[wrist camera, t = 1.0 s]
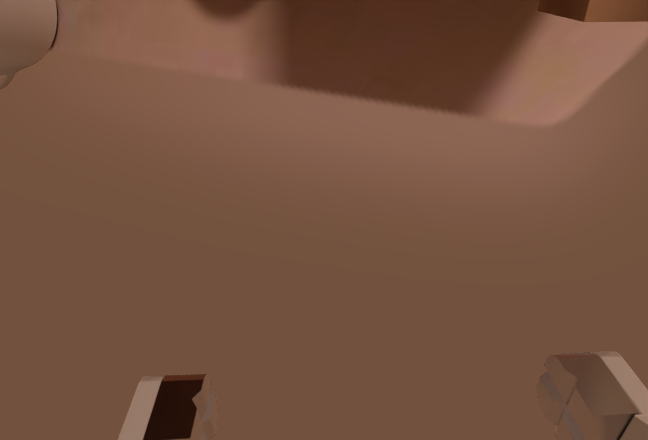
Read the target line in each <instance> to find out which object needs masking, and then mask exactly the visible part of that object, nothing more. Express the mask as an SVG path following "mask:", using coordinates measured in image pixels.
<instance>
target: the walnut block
mask: <svg viewBox="0 0 648 440" xmlns="http://www.w3.org/2000/svg"><path fill="white" fill-rule="evenodd" d="M538 11H540V12H545V13H549V14H553V15H557V16H562V17H566V18H570V19H574V20H578V21H583V22H634V21H648V0H540V2H539V7H538Z"/></svg>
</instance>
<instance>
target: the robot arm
mask: <svg viewBox="0 0 648 440" xmlns="http://www.w3.org/2000/svg"><path fill="white" fill-rule="evenodd" d="M56 27H57V8H56V1H55V0H0V89H2V88H4V87H6V86H7V85H8V83H9V82H10V81H11V79H12V78H13V76H14V75H15V73H16V72H18V71H19V70H21V69H24V68H26V67H28V66H31V65H33V64H35V63H36V62H38V61H39V60H40V59H41V58H42V57H43V56H44V55H45V54H46V53H47V51H48V50H49V48H50V47H51V45H52V42H53V40H54V37H55V33H56ZM544 366H545V367H546V369H547V372H545V373H544V374H543V375H541V376H540V377H539V381H538V384H537V394H538V400H539V403H540V406H541V409H542V411H543V412H544V415H545V417H547V418H548V419H549V420H551V421H552V422H553V423H554V424H556V430H555V437H556V439H557V440H648V390H647V389H646V388H645V386H644V385H643V384H642V382H641V381H640V380H639V379H638V377H637V376H636V375H635V373H634V372H633V371H632V370H631V368H630V367H629V366H628V364H627V363H626V362H625V360H624V359H623V358H622V356H621V355H619V354H618V353H616V352H614V351H609V352H593V353H591V352H583V353H569V354H555V355H550V356H549V357H547V359H546V361H545V364H544ZM211 385H212V382H211V379H210V376H209V374H200V375H199V374H198V375H167V376H165V375H164V376H144V377H143V378H142V380H141V381H140V382H139V384H138V386H137V389H136V392H135V395H134V397H133V400H132V403H131V405H130V409H129V411H128V414H127V416H126V419H125V421H124V424H123V427H122V430H121V432H120V435H119V438H118V440H211V439H212V438H213V437H214V436H215V432H216V426H217V412H218V410H217V400H216V396H215V394H213V393H212V392H210V390H211Z"/></svg>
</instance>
